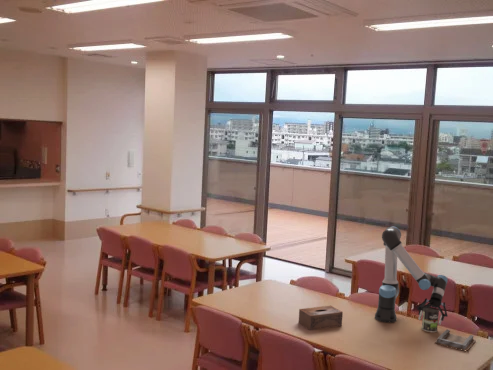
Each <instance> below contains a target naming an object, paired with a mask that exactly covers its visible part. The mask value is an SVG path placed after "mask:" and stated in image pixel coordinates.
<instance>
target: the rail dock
mask: <svg viewBox="0 0 493 370" xmlns="http://www.w3.org/2000/svg"><path fill="white" fill-rule="evenodd" d="M474 342H475V343H476V339H474V335H472V334H470V335H469V336H467V337H465V336H462V335H457V334H453V333H451V330H450V329H448V328H446V329H445V330H444V331H443V333H441V334H440V335H439V336H438V338H437V339H436V340H435V341H434V344H436V345H440V346H443V345H444V346H443V347H447V346H448V347H447V348H451V347H452V348H451V349H454V348H457V349H456V350H458V349H462V350H466V351H467V350H468V349H469V348H470V347H471V348H472V346H473V345H474V344H475V343H474ZM473 343H474V344H473ZM472 344H473V345H472ZM471 345H472V346H471ZM471 348H470V349H471ZM470 349H469V350H470ZM462 350H461V351H462ZM469 350H468V351H469ZM466 351H465V352H466ZM468 351H467V352H468Z"/></svg>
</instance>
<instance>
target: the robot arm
mask: <svg viewBox="0 0 493 370" xmlns="http://www.w3.org/2000/svg"><path fill="white" fill-rule="evenodd" d="M401 237H402V232H401V230H400V229H399V228H398V227H396V226H388V227H387V228H385V230H384V231H383V232H382V234H381V240H382V241H383V246H384V247H385V254H384V278H383V280H382V282H381V283H382V285H380V287H379V289H378V301H377V302H378V303H377V309H376V312H375V314H374V319H375V320H376V321H379V322H381V323H395V322H397V319H398V318H397V313H396V310H395V309H396V300H397V298H398V296H399V294H400V288H399V287H400V286H399V281H398V280H397V279H398V278H397V277H398V274H397V273H398V259H399V261H400V262H401V263H402V265H403V266H404V267H405V269H407V271H408V273H409V274H411V276H412V277H413V279H414V280H415V281H416V283H417V284H418V287H419V289H421V290H423V291H426V290H429V289H430V287H433V288H432V292H431V296H430V298H429V299H428V298H425V299H424V301H423V302H421V304H419V306H417V311H418V318H417V319H418V320H419V321H421V320H422V319H421V318H422V317H423V308H426V307H430V308H435V309H437V310H439V313H440V314H441V315H440V317H439V319H438V325H439V326H441V324H442V322H443V321H444V319H445V318H446V317H448V312H447V307H446V302H442V301H443V297H444V294H445V292H446V287H447V284H448V280H449V279H448V277H447V276H445V275H444V274H438V275H437V276H436V275H432V274H429V273H426V272H424V271H423V270H422V269H421V267H420V266H419V265H418V264H417V262H416V261H415V259H414V258H413V257H412V256H411V255H410V253H409V252H408V251H407V249H406V248H405V247H404V246H403V245H402V244H403V243H402V241H401ZM441 306H442V307H443V310H444V312H443V310H442V308H441Z"/></svg>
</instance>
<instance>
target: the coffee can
mask: <svg viewBox="0 0 493 370" xmlns="http://www.w3.org/2000/svg"><path fill="white" fill-rule="evenodd" d="M422 312H423V313H422V319H421V321H422V322H421V330H423V331H424V332H427V333H436V332H438V325H439V313H440V311H439V309H438V308H435V307H426V308H423V311H422Z"/></svg>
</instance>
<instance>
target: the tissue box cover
mask: <svg viewBox="0 0 493 370" xmlns="http://www.w3.org/2000/svg"><path fill="white" fill-rule="evenodd" d="M298 311H299V312H298V324H300V325H301V326H303V327H304V328H306V329H307V330H309V331H314V330H320V329H327V328H335V327H341V326H343V316H344V315H343V311H341V310H340V309H338V308H336V307H334V306H333V305H323V306H315V307H305V308H299V310H298Z"/></svg>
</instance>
